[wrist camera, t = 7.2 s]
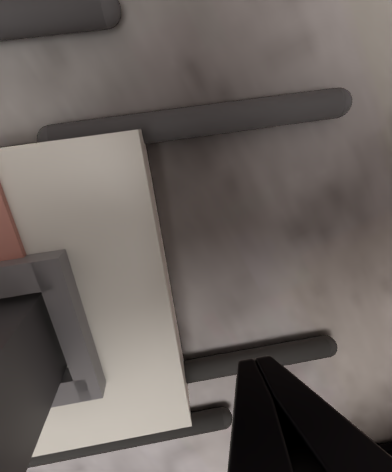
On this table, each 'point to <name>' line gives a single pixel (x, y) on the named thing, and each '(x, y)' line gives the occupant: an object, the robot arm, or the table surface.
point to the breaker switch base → (95, 285)
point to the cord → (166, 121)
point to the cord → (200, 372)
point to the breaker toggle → (26, 376)
